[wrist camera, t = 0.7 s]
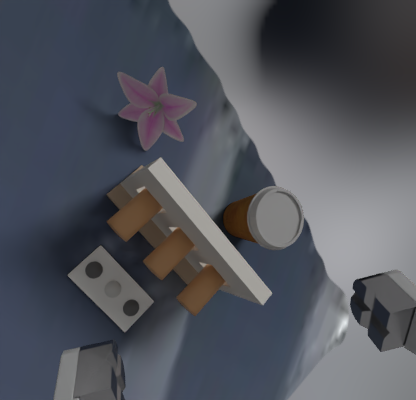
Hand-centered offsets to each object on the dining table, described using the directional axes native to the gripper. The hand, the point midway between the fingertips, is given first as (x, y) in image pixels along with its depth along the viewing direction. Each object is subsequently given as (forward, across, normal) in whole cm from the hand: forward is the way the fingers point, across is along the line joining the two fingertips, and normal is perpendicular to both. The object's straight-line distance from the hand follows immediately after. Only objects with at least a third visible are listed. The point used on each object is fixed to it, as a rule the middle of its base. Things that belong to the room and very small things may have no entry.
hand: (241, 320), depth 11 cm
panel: (+38, +1, +22) cm, 44 cm away
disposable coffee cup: (+42, -11, +24) cm, 49 cm away
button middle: (+31, +2, +20) cm, 37 cm away
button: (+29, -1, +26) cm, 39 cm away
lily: (+47, +1, +6) cm, 48 cm away
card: (+32, +11, +26) cm, 43 cm away
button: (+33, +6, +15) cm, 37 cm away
